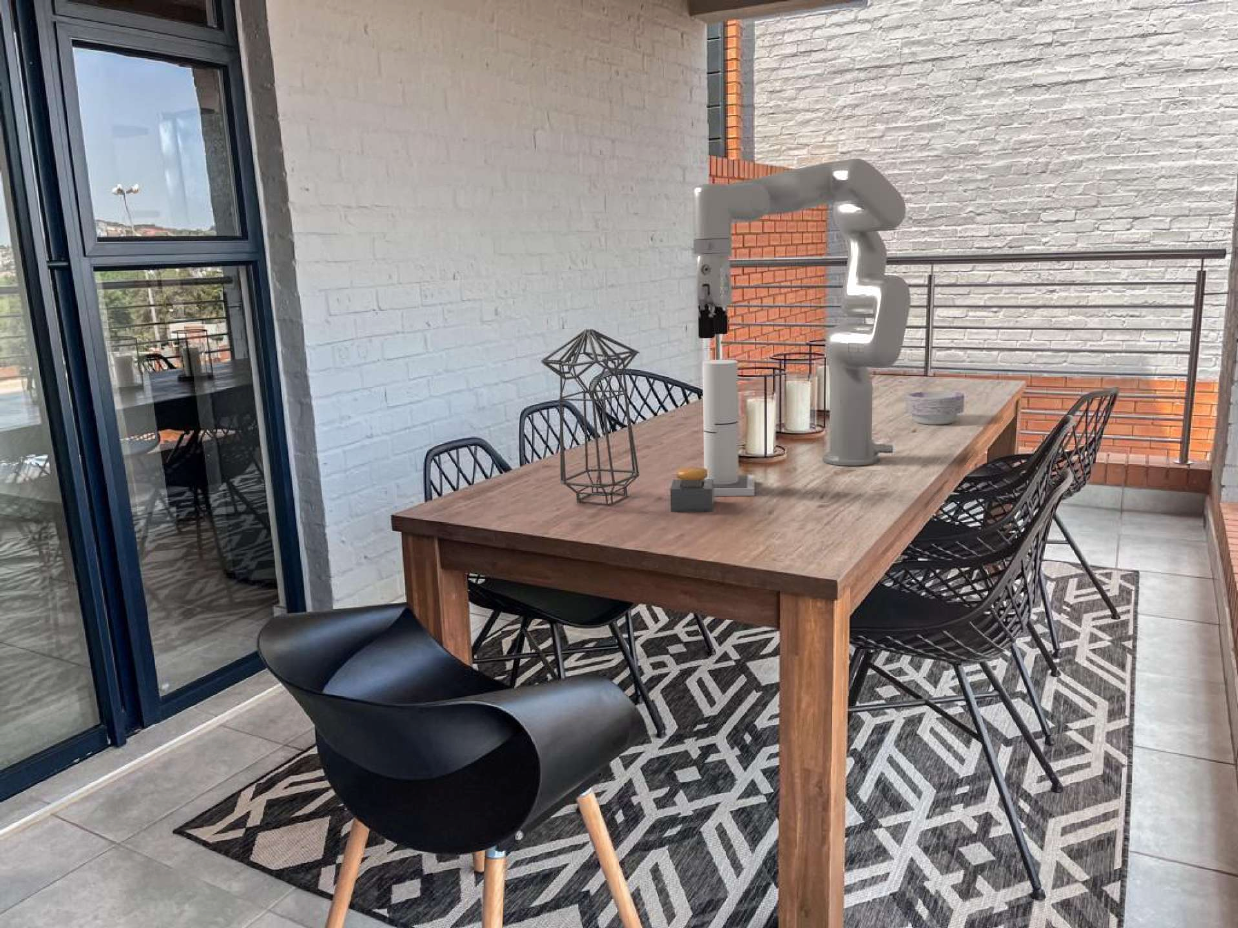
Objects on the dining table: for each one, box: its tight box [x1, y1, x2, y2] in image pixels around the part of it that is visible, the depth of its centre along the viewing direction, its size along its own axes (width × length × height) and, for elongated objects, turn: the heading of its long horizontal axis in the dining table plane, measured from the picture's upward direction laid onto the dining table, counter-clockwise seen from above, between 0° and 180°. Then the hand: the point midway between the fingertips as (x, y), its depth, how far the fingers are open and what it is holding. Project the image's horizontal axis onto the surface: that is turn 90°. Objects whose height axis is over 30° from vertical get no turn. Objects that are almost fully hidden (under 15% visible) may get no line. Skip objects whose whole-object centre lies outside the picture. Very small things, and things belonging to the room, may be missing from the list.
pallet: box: [714, 474, 755, 497], centre depth 203 cm, size 14×12×2 cm
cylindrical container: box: [702, 359, 739, 485], centre depth 200 cm, size 7×7×25 cm
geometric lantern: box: [540, 328, 640, 506], centre depth 195 cm, size 16×16×35 cm
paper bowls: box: [905, 390, 965, 426], centre depth 265 cm, size 15×15×8 cm
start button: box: [676, 466, 707, 487], centre depth 189 cm, size 6×6×5 cm
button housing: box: [669, 478, 715, 513], centre depth 189 cm, size 8×8×4 cm
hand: (713, 336), depth 194 cm, fingers open, 9 cm apart
